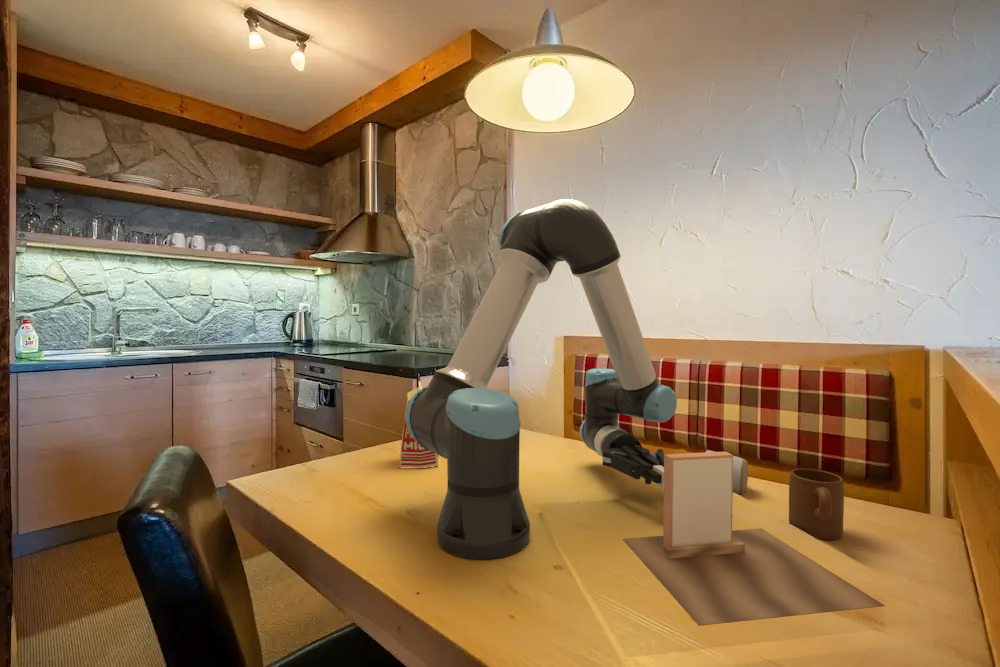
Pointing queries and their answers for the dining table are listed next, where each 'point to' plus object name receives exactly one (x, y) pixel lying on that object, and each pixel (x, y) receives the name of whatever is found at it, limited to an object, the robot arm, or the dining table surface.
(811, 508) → the mug
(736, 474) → the ceramic mug
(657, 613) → the dining table surface
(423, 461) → the milk carton
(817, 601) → the board
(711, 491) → the tile
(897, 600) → the dining table surface
